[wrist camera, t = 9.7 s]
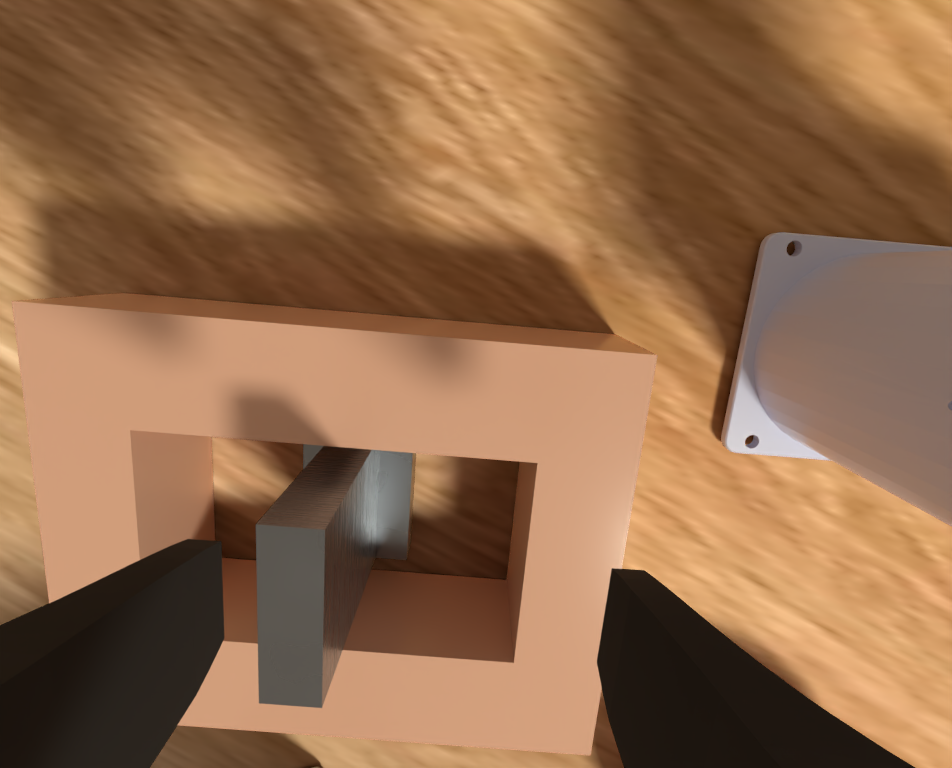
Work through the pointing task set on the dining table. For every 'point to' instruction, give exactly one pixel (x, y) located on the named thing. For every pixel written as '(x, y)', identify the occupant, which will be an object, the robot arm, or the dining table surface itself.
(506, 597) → the holder block
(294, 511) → the brushed metal prism
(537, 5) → the dining table surface
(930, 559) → the dining table surface
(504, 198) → the dining table surface
